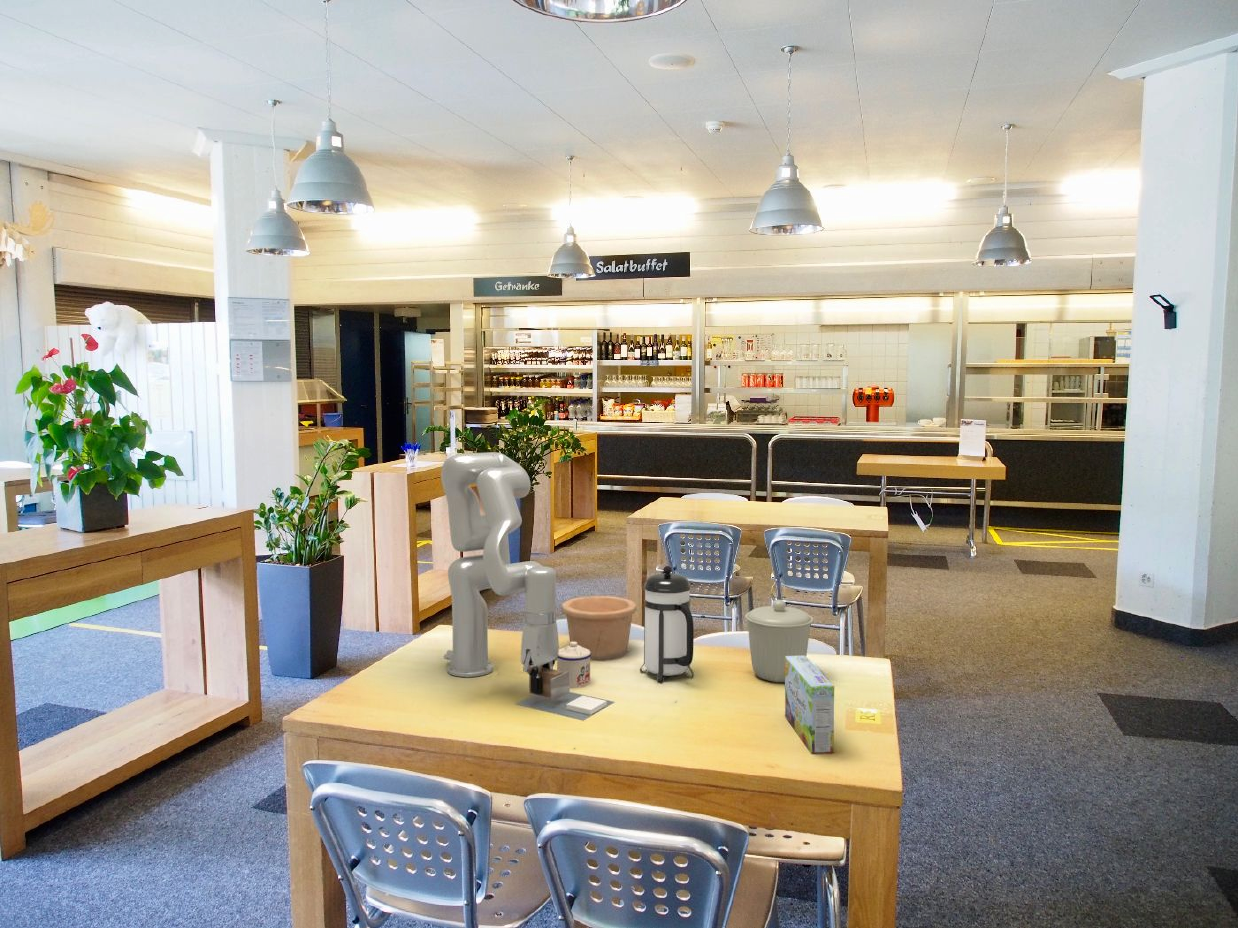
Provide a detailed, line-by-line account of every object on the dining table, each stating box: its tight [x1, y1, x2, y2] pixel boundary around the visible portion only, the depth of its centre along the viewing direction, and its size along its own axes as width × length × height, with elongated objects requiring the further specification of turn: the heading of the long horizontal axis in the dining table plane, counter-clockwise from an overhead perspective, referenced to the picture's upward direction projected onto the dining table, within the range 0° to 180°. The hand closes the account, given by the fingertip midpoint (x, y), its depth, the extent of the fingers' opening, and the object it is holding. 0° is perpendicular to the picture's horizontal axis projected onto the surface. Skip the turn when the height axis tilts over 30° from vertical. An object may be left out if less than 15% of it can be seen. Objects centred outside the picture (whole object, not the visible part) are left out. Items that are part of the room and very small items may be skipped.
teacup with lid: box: [556, 641, 591, 689], centre depth 226 cm, size 12×9×12 cm
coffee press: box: [639, 565, 695, 684], centre depth 232 cm, size 17×16×30 cm
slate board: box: [515, 691, 615, 721], centre depth 210 cm, size 20×14×1 cm
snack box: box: [784, 655, 835, 755], centre depth 193 cm, size 21×6×15 cm, turn 5°
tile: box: [566, 695, 607, 716], centre depth 206 cm, size 1×7×7 cm
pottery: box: [561, 595, 638, 661], centre depth 254 cm, size 22×22×14 cm
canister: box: [744, 599, 814, 683], centre depth 232 cm, size 18×18×21 cm
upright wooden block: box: [528, 667, 570, 701], centre depth 211 cm, size 8×7×6 cm
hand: (541, 690), depth 212 cm, fingers closed on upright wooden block, 3 cm apart
